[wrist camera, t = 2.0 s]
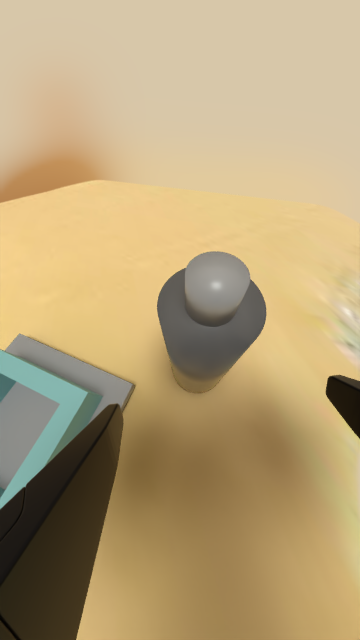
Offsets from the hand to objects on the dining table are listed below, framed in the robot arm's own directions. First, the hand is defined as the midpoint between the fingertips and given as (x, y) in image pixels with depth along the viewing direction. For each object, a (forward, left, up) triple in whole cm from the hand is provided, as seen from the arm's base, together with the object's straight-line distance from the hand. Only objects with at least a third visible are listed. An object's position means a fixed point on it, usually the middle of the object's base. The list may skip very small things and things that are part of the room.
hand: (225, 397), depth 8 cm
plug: (+3, +2, -11) cm, 11 cm away
